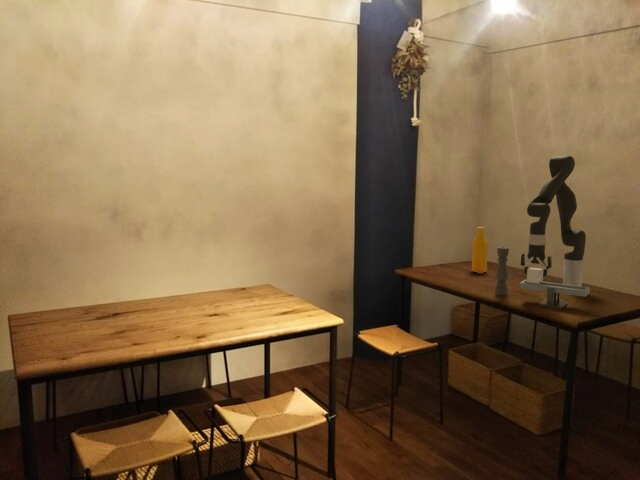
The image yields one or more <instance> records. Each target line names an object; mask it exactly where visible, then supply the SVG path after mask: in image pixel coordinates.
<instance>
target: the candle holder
mask: <svg viewBox="0 0 640 480" xmlns="http://www.w3.org/2000/svg"><path fill="white" fill-rule="evenodd" d="M509 251H510V249H509V247H508V246H507V247H506V246H497V251H496V252H497V256H498V258H497V260H496V261H498V267H497V271H496V275H495V279H496V280H497V283H496V284H495V288H494V290H495V292H494V293H495V294H494V295H498V296H507V295H508V284H507V280H508V278H509V275H508V269H507V262H508V261H509V258H508V256H509V253H510V252H509Z"/></svg>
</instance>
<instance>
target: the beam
mask: <svg viewBox="0 0 640 480" xmlns="http://www.w3.org/2000/svg"><path fill="white" fill-rule="evenodd" d="M519 288H520V289H525V290H531V291H540V292H547V289H548V288H552V289H555V291H554V293H560V295H568V296H577V297H583V298H586V297H587V296H588V295H589V294H590V289H591V287H589V286H582V285H581V286H574V285H566V284H563V283H557V282H549V281H543V285H538V284H530V283H527V279H524V280H522V281H521V282H519Z"/></svg>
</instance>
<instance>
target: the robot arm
mask: <svg viewBox="0 0 640 480" xmlns="http://www.w3.org/2000/svg"><path fill="white" fill-rule="evenodd" d="M575 161H576V160H575V158H574V157H573V156H570V155H559V156H558V155H557V156H552V157H550V159H549V162H548V165H549V166H548V168H549V173H550V176H551V179H550V180H548V181H547V182H545V184H543V186H542V187H541V188H540V192H539V193H538V195H537V196H536V197H534V198H533V199H532V200H531V201H530V202H529V204H528V205H527V208H526V212H527V216H529V217H532V218H539V220H537V221H533V222H531V223H530V225H529V226H530V227H529V238H528V253H524V252H523V253H521V257H520V266H522V267H524V269H523V272H524V274H525V275H526V276H527V269H529V265H531V264H533V265H534V264H536V265H540V266H541V267H542V269H543V278H545V277H546V276H547V275H548V270H550V269H551V268H553V267H552V266H553V265H552V263H553V262H552V255H546V226H547V223H548V220H549V217H550V214H551V206H550V204H551V203H552V202H553V200H554V199H555V198H556V200H555V201H556V207H557V210H558V216H559V223H560V235H561V241H562V244H563V245H564V246H565V247H566V246H567V247H572V248H573V250H572V251H569V252H566V253H564V255H563V271H562V273H563V274H562V284H566V285H574V286H582V282H583V281H582V278H583V277H582V276H583V262H584V257H585V250H586V241H587V235H586V232H585V231H584V230H581V229H572V226H571V221H572V219H573V217H574V215H575V213H576V211H577V208H578V204H577V198H576V197H577V196H576V194H575V193H574V191H573V190H572V188H570V187H569V186H568V185H567V183H566V181H567V180H568V178H569V177H570V175H571V174H572V173H573V171H574V170H575V165H576V162H575ZM526 258H528V260H527V261H526ZM545 259H546V261H545ZM546 262H547V264H546ZM525 275H524V276H525Z"/></svg>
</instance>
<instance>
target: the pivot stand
mask: <svg viewBox="0 0 640 480" xmlns="http://www.w3.org/2000/svg"><path fill="white" fill-rule="evenodd" d="M554 291H555V289H552V288H548V289H547V293H546V297H545V298H544V299H543V300H541V301H540V302H539V303H538V306H540V307H545V308H552V309H558V310H561V309H563V308H564V307H565V306H566V305H567V304H568V301H567V300H566V301H565V300H562V299H560V297H561V293H554Z"/></svg>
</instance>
